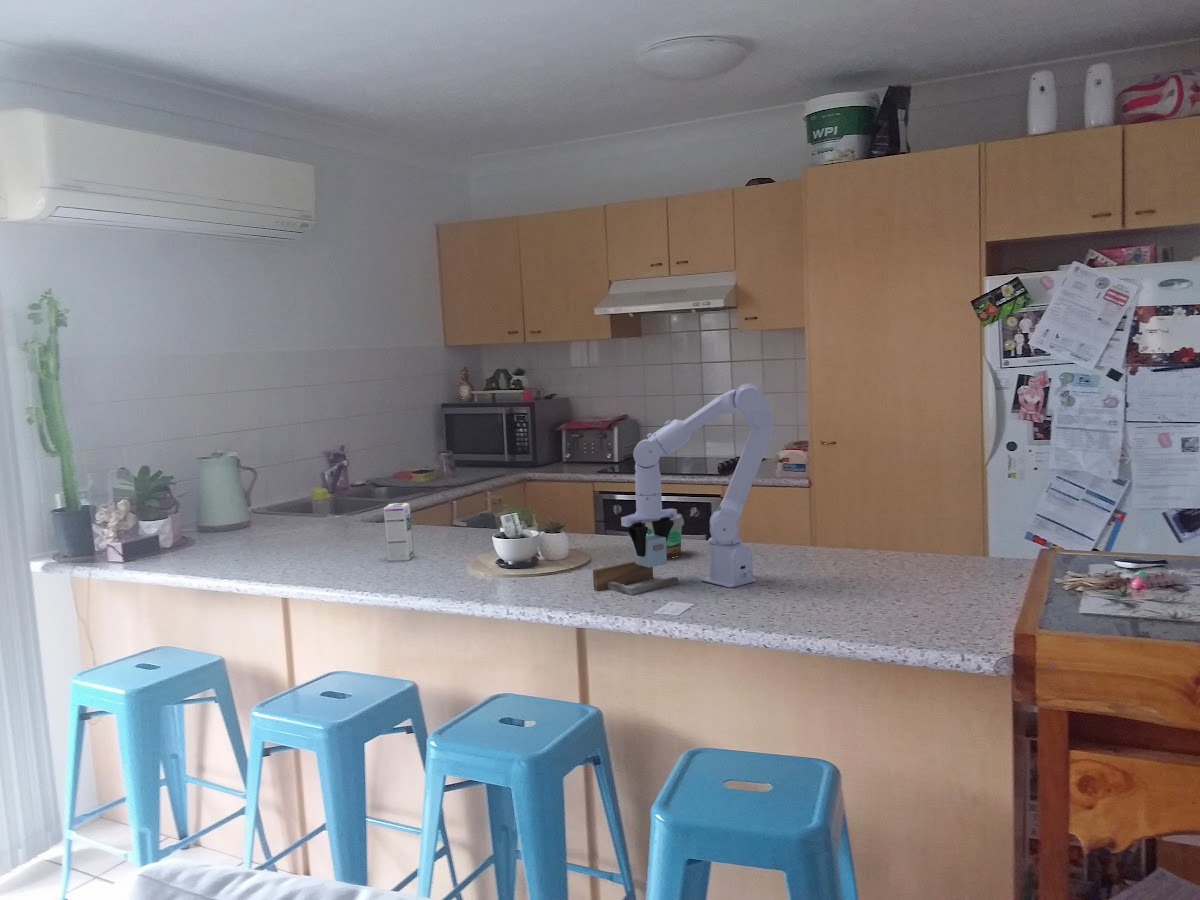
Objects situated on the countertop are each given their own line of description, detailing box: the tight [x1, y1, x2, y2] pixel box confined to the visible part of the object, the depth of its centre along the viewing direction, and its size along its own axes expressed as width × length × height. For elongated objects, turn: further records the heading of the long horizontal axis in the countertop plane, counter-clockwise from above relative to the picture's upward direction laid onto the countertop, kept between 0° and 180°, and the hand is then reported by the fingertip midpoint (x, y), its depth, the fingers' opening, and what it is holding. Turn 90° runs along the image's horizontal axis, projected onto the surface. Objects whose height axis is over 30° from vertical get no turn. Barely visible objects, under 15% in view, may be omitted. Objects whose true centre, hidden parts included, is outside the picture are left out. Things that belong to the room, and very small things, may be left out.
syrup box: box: [383, 502, 415, 562], centre depth 250 cm, size 6×6×14 cm
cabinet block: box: [634, 534, 668, 568], centre depth 212 cm, size 6×5×6 cm
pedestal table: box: [592, 560, 679, 596], centre depth 209 cm, size 10×16×4 cm, turn 127°
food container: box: [644, 513, 685, 558], centre depth 238 cm, size 12×6×10 cm, turn 140°
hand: (650, 553), depth 212 cm, fingers closed on cabinet block, 5 cm apart
